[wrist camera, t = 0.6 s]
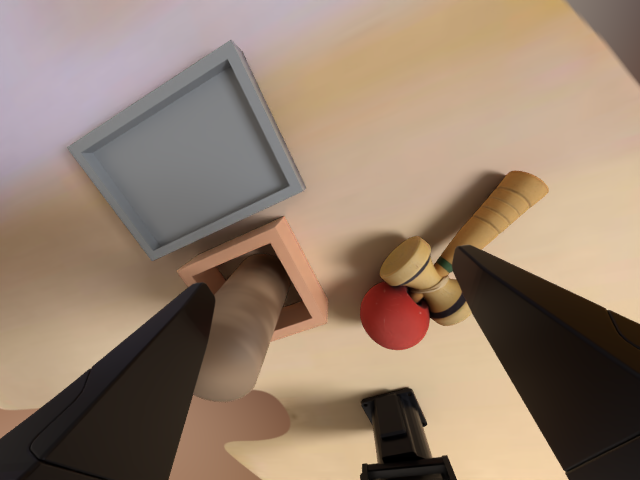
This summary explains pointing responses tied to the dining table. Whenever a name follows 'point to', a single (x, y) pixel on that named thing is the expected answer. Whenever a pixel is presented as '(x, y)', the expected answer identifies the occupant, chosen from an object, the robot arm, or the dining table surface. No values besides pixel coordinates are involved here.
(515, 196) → the kendama
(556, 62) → the dining table surface
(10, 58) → the dining table surface
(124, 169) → the grey tray
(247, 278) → the walnut peg
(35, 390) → the dining table surface
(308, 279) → the pink rectangular frame
